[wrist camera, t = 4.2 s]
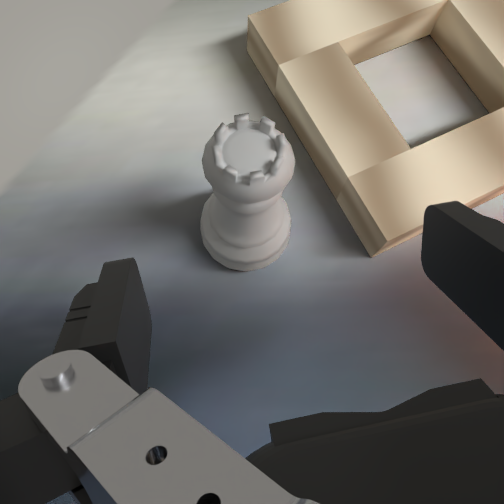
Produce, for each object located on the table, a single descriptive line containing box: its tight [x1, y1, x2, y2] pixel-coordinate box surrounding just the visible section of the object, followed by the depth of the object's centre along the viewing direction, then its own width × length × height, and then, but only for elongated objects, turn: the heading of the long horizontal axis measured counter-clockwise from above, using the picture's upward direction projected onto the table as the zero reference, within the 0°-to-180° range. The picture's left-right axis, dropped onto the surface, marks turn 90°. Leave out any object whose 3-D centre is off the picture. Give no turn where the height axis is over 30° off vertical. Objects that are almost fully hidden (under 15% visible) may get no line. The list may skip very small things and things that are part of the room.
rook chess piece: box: [200, 113, 295, 272], centre depth 18 cm, size 4×4×8 cm
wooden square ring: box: [247, 0, 504, 258], centre depth 24 cm, size 14×14×2 cm
